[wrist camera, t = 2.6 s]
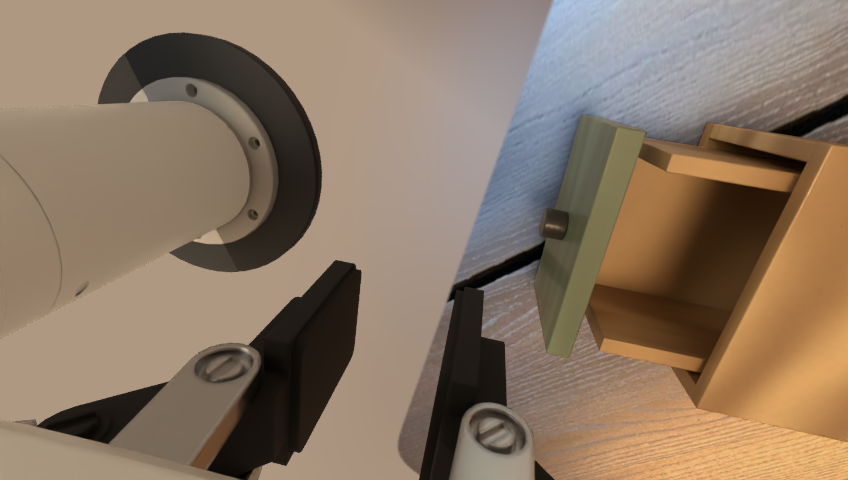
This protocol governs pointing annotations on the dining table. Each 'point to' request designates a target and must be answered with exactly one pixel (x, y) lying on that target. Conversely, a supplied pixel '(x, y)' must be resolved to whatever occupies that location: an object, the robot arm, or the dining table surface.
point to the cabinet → (788, 301)
